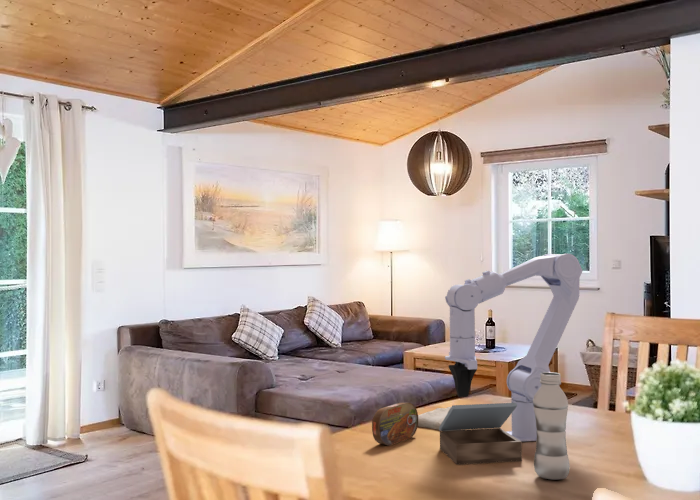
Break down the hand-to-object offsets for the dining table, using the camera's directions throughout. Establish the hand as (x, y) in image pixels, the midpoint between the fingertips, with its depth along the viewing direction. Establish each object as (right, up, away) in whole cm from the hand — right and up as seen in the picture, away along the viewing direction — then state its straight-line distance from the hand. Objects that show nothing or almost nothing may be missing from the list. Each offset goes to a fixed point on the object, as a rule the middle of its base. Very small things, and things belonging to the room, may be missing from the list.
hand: (462, 396), depth 167 cm
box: (+2, -10, -11) cm, 15 cm away
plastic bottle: (+13, -10, -27) cm, 32 cm away
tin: (-15, -11, +1) cm, 19 cm away
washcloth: (0, -11, +19) cm, 22 cm away
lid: (+2, -3, -10) cm, 10 cm away
